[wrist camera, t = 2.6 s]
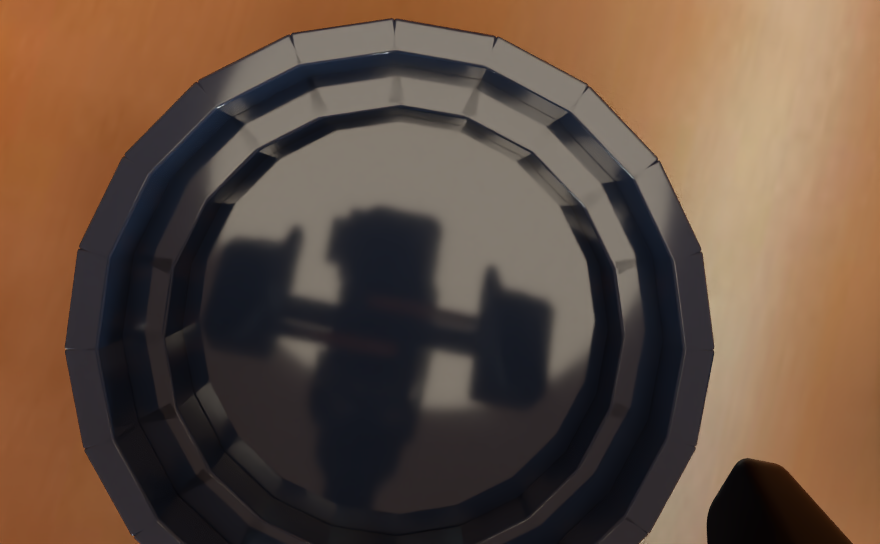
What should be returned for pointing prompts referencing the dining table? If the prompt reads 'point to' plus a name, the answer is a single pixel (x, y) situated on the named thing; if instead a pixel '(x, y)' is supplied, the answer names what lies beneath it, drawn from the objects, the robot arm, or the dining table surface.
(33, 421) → the dining table surface
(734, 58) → the dining table surface
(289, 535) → the bowl
